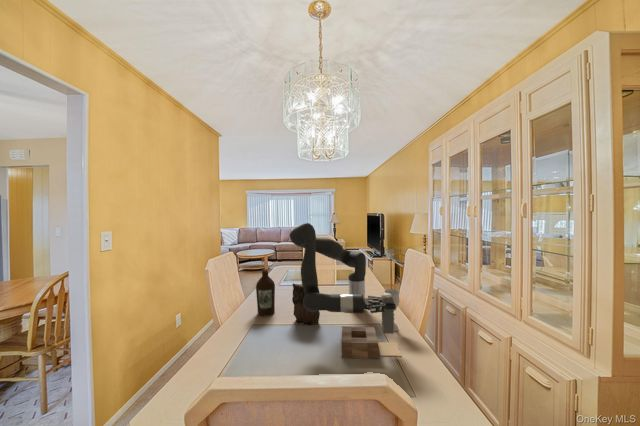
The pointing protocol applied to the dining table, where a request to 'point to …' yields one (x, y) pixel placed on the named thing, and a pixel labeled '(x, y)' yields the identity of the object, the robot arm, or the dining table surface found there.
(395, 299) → the chalice
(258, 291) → the olive oil
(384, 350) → the pad
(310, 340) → the dining table surface
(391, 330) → the plug
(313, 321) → the brown owl figurine
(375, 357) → the wooden square socket block
